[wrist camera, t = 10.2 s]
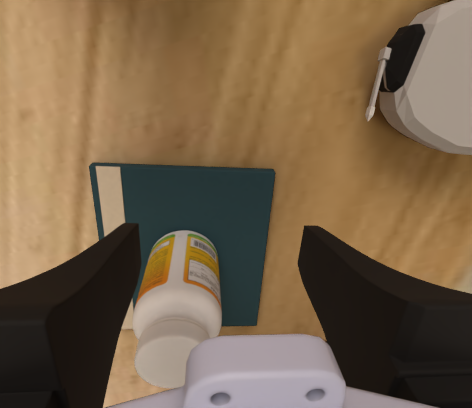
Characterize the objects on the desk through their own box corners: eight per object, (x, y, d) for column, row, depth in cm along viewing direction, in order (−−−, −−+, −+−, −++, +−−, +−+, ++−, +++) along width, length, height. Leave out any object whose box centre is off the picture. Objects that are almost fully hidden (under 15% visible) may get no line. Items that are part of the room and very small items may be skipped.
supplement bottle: (153, 285, 26) (126, 401, 17) (146, 229, 24) (111, 329, 15) (218, 283, 27) (224, 394, 18) (218, 227, 24) (224, 323, 16)
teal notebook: (255, 319, 30) (256, 327, 29) (113, 321, 28) (110, 329, 28) (273, 168, 23) (276, 172, 23) (92, 162, 22) (87, 166, 21)
